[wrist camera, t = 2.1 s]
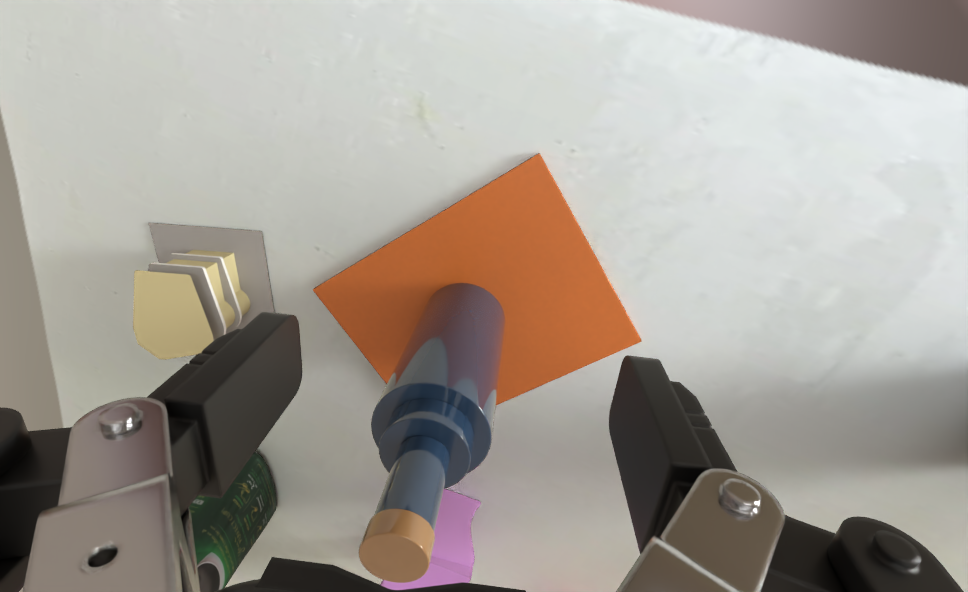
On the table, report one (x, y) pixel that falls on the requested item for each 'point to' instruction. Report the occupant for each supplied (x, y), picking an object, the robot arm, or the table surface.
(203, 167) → the table surface
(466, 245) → the cloth
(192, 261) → the layered building model
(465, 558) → the toy chair
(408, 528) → the bottle
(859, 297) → the table surface
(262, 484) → the coffee jar
